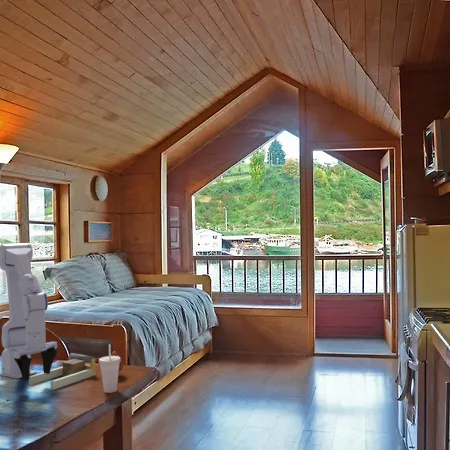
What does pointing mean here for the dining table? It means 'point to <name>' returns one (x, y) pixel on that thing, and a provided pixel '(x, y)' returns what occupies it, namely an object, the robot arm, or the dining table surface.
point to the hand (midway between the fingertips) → (36, 376)
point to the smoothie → (109, 371)
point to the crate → (73, 366)
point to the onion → (119, 362)
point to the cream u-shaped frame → (68, 379)
